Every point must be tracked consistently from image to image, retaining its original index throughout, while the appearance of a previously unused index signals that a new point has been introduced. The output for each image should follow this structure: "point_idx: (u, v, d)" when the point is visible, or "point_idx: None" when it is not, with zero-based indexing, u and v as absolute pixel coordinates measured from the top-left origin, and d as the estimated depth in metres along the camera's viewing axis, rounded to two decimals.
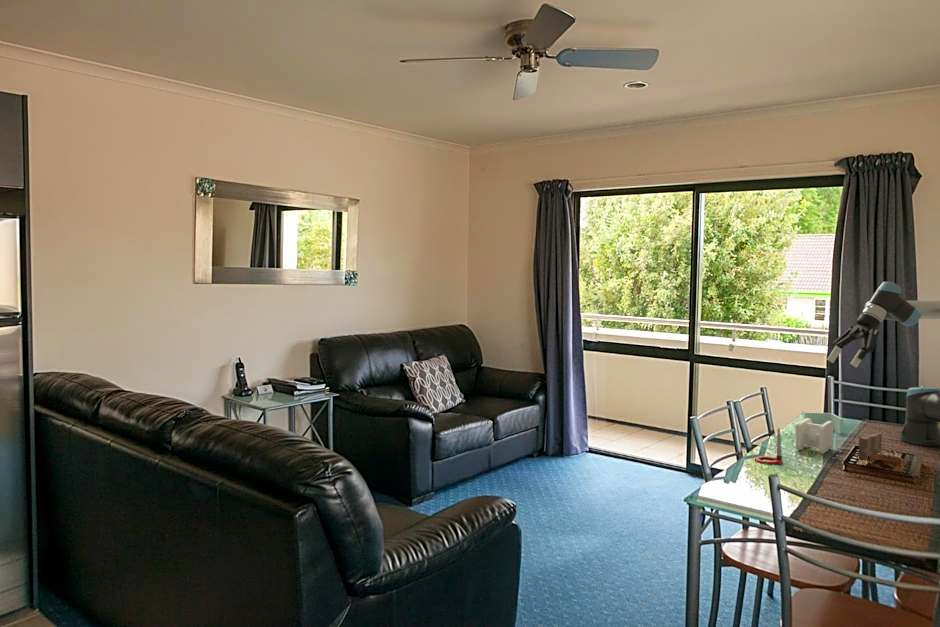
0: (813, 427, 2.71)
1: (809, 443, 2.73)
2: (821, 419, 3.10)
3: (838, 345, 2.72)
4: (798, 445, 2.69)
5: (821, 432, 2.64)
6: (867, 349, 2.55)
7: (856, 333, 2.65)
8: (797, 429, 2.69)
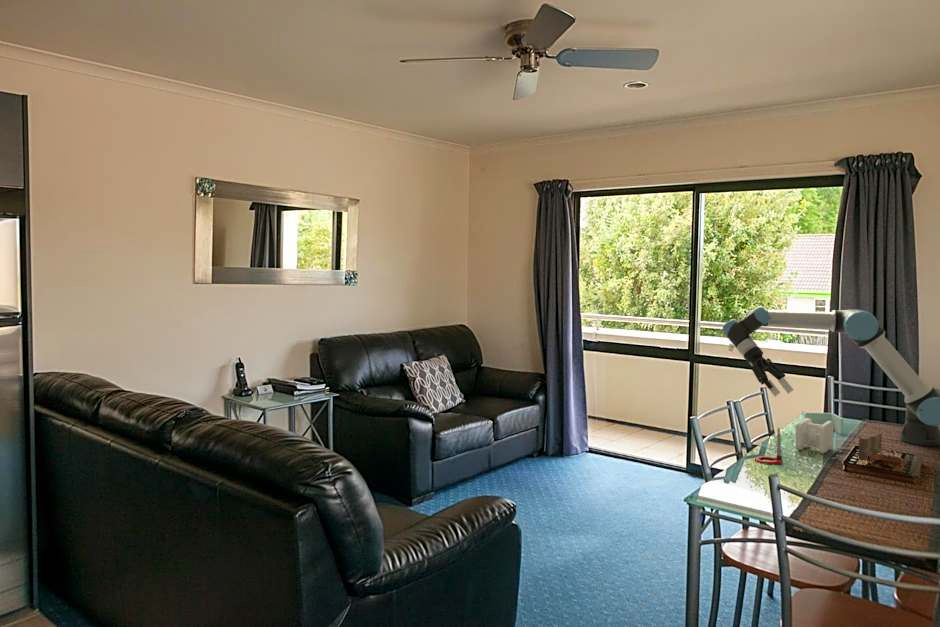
0: (813, 427, 2.71)
1: (809, 443, 2.73)
2: (821, 419, 3.10)
3: (779, 378, 2.89)
4: (798, 445, 2.69)
5: (821, 432, 2.64)
6: (761, 381, 2.81)
7: None
8: (797, 429, 2.69)
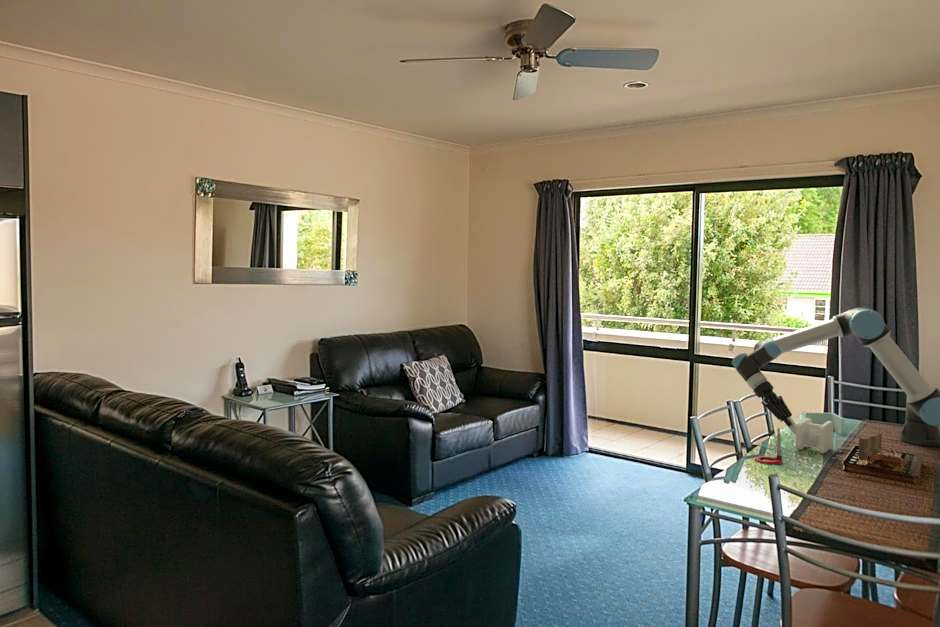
0: (813, 427, 2.71)
1: (809, 443, 2.73)
2: (822, 419, 3.10)
3: None
4: (798, 445, 2.69)
5: (821, 432, 2.64)
6: None
7: None
8: (797, 429, 2.69)
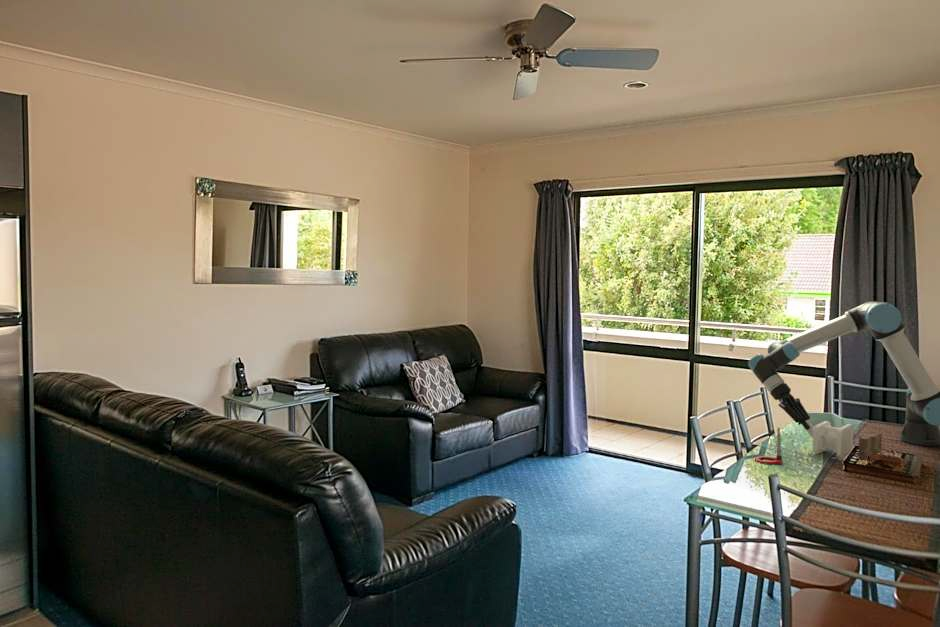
0: (831, 430, 2.65)
1: (827, 446, 2.67)
2: (822, 419, 3.10)
3: None
4: (815, 448, 2.64)
5: (839, 435, 2.59)
6: None
7: None
8: (814, 432, 2.64)
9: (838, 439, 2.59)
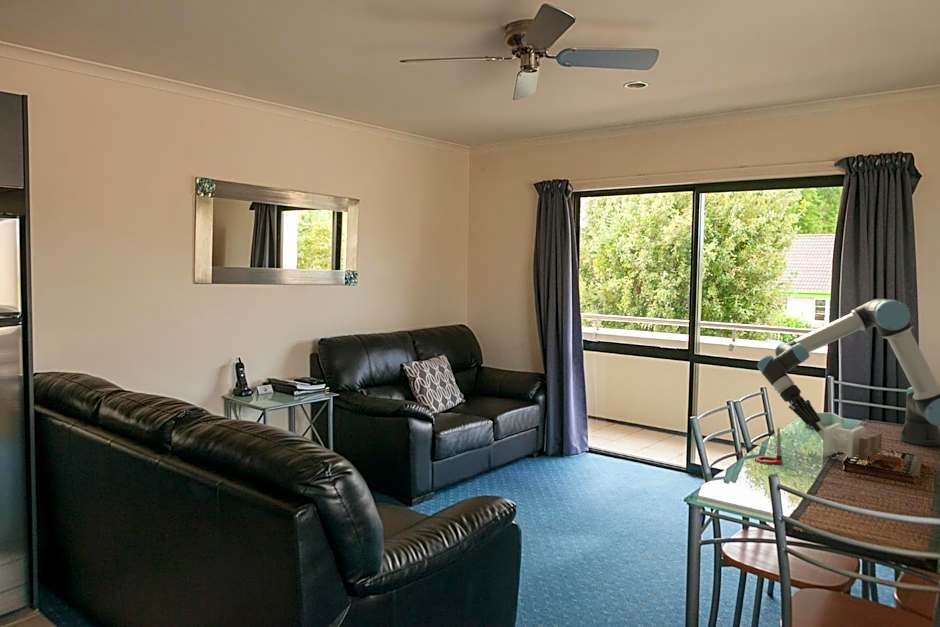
0: (843, 432, 2.62)
1: (839, 449, 2.64)
2: (821, 419, 3.10)
3: None
4: (826, 450, 2.61)
5: (850, 437, 2.56)
6: (809, 424, 2.71)
7: None
8: (825, 434, 2.61)
9: (849, 441, 2.56)
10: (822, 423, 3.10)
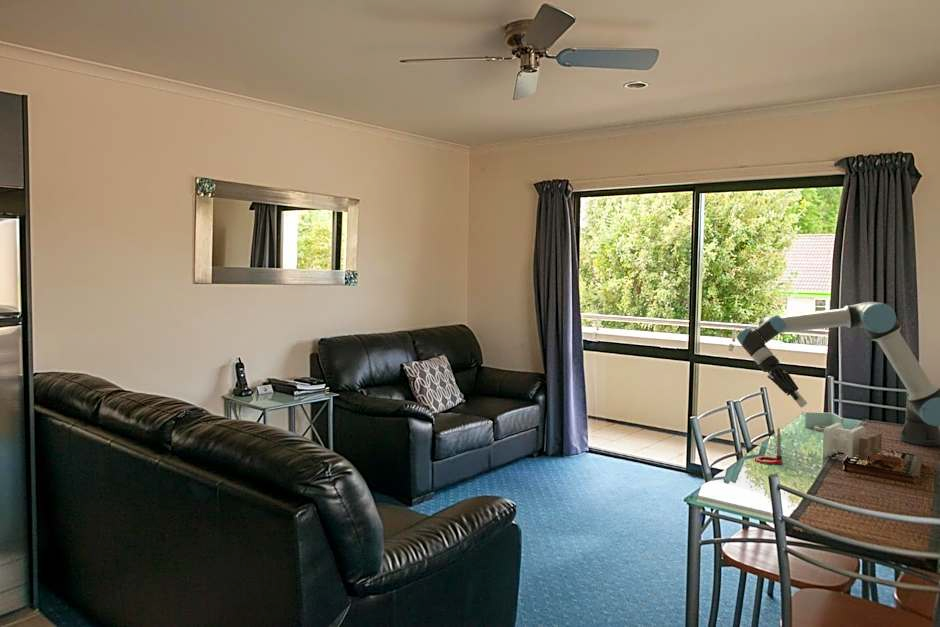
0: (843, 432, 2.62)
1: (839, 449, 2.64)
2: (821, 419, 3.10)
3: None
4: (826, 450, 2.61)
5: (850, 438, 2.56)
6: (787, 392, 2.78)
7: None
8: (825, 434, 2.61)
9: (849, 441, 2.56)
10: (822, 423, 3.11)
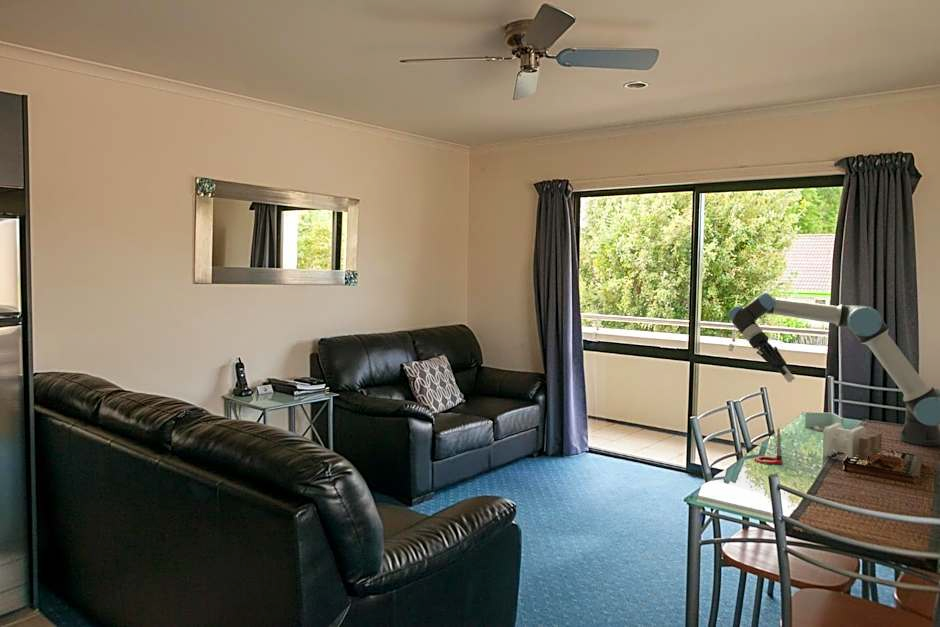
0: (843, 432, 2.62)
1: (839, 449, 2.64)
2: (821, 419, 3.11)
3: None
4: (826, 450, 2.61)
5: (850, 438, 2.56)
6: None
7: None
8: (825, 434, 2.61)
9: (849, 441, 2.56)
10: (822, 423, 3.11)
